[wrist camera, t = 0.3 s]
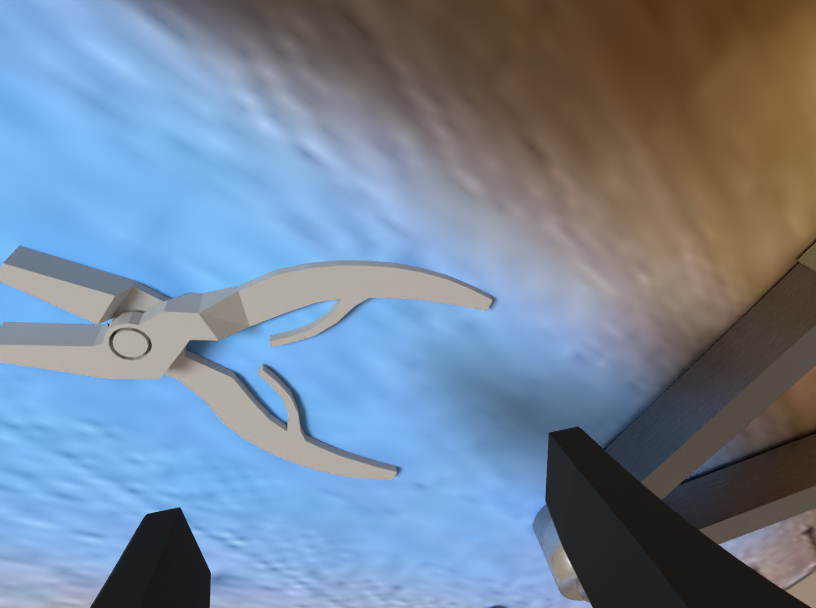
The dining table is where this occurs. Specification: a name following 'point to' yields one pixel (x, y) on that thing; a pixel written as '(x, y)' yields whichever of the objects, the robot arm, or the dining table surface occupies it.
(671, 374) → the dining table surface
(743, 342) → the arm
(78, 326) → the pliers
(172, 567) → the robot arm
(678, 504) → the tongs frame
